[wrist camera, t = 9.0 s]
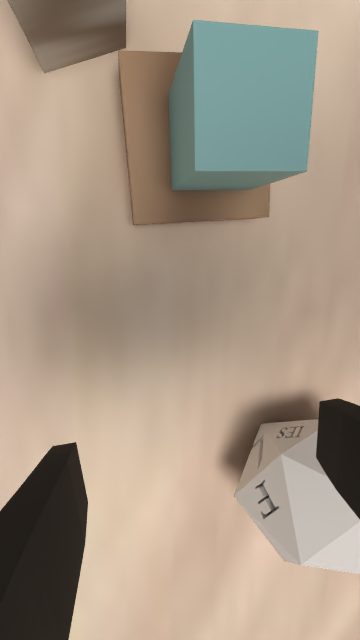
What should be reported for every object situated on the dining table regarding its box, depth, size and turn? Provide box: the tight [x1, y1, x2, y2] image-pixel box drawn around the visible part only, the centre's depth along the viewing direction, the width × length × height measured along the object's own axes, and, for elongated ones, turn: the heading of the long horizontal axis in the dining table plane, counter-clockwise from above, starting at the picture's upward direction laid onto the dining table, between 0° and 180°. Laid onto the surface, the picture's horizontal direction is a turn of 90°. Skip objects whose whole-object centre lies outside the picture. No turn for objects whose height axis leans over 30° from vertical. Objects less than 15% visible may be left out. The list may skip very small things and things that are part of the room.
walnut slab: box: [118, 51, 270, 225], centre depth 16 cm, size 7×7×2 cm
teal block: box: [169, 20, 318, 190], centre depth 12 cm, size 4×4×5 cm
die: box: [234, 419, 360, 574], centre depth 19 cm, size 8×9×10 cm
